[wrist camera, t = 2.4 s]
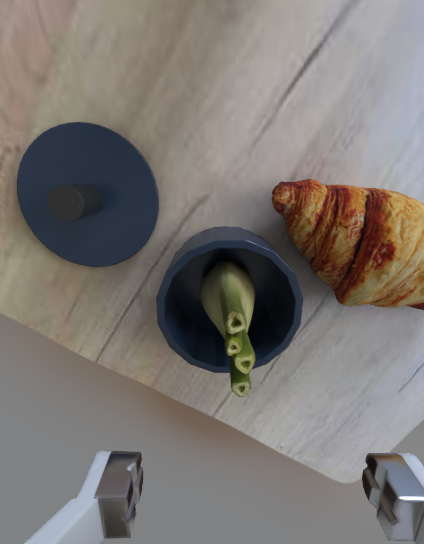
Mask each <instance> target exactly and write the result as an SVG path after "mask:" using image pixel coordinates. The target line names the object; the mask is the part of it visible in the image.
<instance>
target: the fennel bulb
mask: <svg viewBox="0 0 424 544" xmlns="http://www.w3.org/2000/svg"><path fill="white" fill-rule="evenodd" d="M200 299H201V302H202V304H203V307H204V309H205V311H206V313H207V314H208V316H209V317H210V319H211V320H212V322H213V323H214V324H215V325H216V327H217V328H218V330H219V331H220V333H221V334H222V336H223V337H224V339H225V351H226V353H227V354H228V355H229V365H230V377H231V388H232V391H233V392H234V393H235V394H236V395H238V396H239V397H245V396H246V395H247V394H248V391H249V390H250V389H251V381H250V377H249V372H250V370H251V369H252V367H253V365H254V362H255V360H256V358H255V353H254V351H253V348H252V346H251V344H250V341H249V338H248V335H247V332H248V328H249V325H250V321H251V317H252V313H253V308H254V301H255V289H254V284H253V280H252V277H251V275H250V273H249V271H248V270H247V269H245V268H244V267H242V266H238V265H237V264H236V263H235V262H233V261H229V260H226V261H220V262H218V263H217V264H216V265H215V266H214V267H213V268H212V269H211V270H210V271H209V272H208V273H207V274H206V275H205V277H204V278H203V281H202V283H201V287H200Z"/></svg>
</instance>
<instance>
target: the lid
mask: <svg viewBox="0 0 424 544" xmlns="http://www.w3.org/2000/svg"><path fill="white" fill-rule="evenodd" d="M17 193H18V200H19V204H20V208H21V211H22V213H23V216H24V218H25V220H26V222H27V224H28V226H29V227H30V229H31V230H32V232H33V233H34V235H35V236H36V237H37V238H38V239H39V240H40V241H41V242H42V243H43V244H44V245H45V246H46V247H47V248H48V249H49V250H51V251H52V252H54V253H55V254H57V255H58V256H60V257H62V258H64V259H66V260H68V261H70V262H73V263H76V264H80V265H85V266H94V267H100V266H109V265H114V264H117V263H120V262H122V261H124V260H126V259H128V258H130V257H131V256H133V255H134V254H136V253H137V252H138V251H139V250H140V249H141V248H142V247H143V246H144V245H145V244H146V242H147V241H148V240H149V238H150V236H151V235H152V233H153V230H154V228H155V226H156V222H157V219H158V212H159V195H158V189H157V184H156V181H155V178H154V175H153V173H152V171H151V169H150V167H149V165H148V163H147V161H146V160H145V159H144V157H143V156H142V154H141V153H140V152H139V151H138V150H137V149H136V147H135V146H133V145H132V144H131V143H130V142H129V141H128V140H127V139H125V138H124V137H122V136H121V135H119V134H118V133H116V132H114V131H112V130H110V129H108V128H105V127H102V126H99V125H95V124H91V123H82V122H75V123H66V124H62V125H58V126H56V127H53V128H51V129H49V130H47V131H46V132H44V133H42V134H41V135H40V136H39V137H38V138H36V139H35V140H34V141H33V143H32V144H31V145H30V146H29V148H28V149H27V151H26V152H25V154H24V156H23V158H22V161H21V163H20V167H19V171H18V178H17Z"/></svg>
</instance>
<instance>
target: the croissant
mask: <svg viewBox="0 0 424 544" xmlns="http://www.w3.org/2000/svg"><path fill="white" fill-rule="evenodd" d="M272 194H273V197H272V203H273V206H274V209H275V210H276V212H278V213H279V214H281V215H282V216H283V218H284V219H286V220H287V221H286V226H287V232H288V234H289V238H290V239H291V241H292V242H293V243H294V244H295V246H296V248H299V250H300V251H301V253H302V255H303V256H304V257H306V258H307V259H308V260H310V267H311V268H312V270H313V271H314V273H315V274H316V275H317V276H318V277H319V278H320V279H321V280H322V281H323V282H325V283H327V284H328V285H329V286H330V287H331V288H332V289H333V291H334V292H335V295H336V299H337V300H338V302H339V303H341V304H343V305H345V306H359V305H364V304H371V305H375V306H378V307H398V306H403V305H407V306H410V307H413V308H417V309H422V310H424V204H423V203H421V202H419V201H418V200H416V199H413V198H410V197H408V196H406V195H403V194H401V193H399V192H395V191H390V190H385V189H377V188H362V187H355V186H347V185H323V184H321V183H319V182H318V181H315V180H312V179H308V180H303V181H297V182H280V183H279V184H278V185H277V186H276V187H275V188H274V189H273V192H272Z"/></svg>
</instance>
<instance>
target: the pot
mask: <svg viewBox="0 0 424 544" xmlns="http://www.w3.org/2000/svg"><path fill="white" fill-rule="evenodd" d="M226 260H229V261H233V262H235V263H236V264H237V265H238V266H242V267H244V268H245V269H247V270H248V271H249V273H250V275H251V277H252V280H253V284H254V289H255V301H254V308H253V313H252V317H251V321H250V325H249V328H248V332H247V335H248V338H249V341H250V344H251V346H252V348H253V351H254V353H255V358H256V360H255V362H254V365H253V367H252V369H254V368H257V367H260V366H263V365H265V364H267V363H269V362H270V361H271V360H272V359H274V358H275V357H276V356H277V355H279V354H280V353H281V352H282V351H284V350H285V349H286V348H287V347H288V345H289V344H290V342H291V340H292V338H293V337H294V335H295V333H296V331H297V330H298V328H299V326H300V323H301V314H302V305H303V296H302V293H301V290H300V287H299V284H298V281H297V278H296V275H295V273H294V272H293V270H292V269H291V268H290V267H289V266H288V265H287V264H286V263H285V261H284V260H283V259H282V258H281V257H280V256H279V255H278V254H277V253H276V251H275V250H274V249H273V248H272V247H271V246H270V245H269V244H268V243H267V242H266V241H265V240H264V239H263V238H262V237H261V236H259V235H256V234H254V233H252V232H250V231H248V230H245V229H242V228H239V227H214V228H211V229H208V230H205V231H203V232H201V233H199V234H197V235H194V236H193V237H191V238H190V239H189V240H188V241H187V242H186V243H185V244H184V245H183V246H182V247H181V248H180V249H179V250H178V251H177V252H176V253H175V256H174V258H173V260H172V262H171V264H170V266H169V268H168V270H167V272H166V274H165V277H164V279H163V282H162V285H161V287H160V290H159V292H158V295H157V297H156V301H157V318H158V325H159V327H160V329H161V331H162V333H163V335H164V337H165V339H166V341H167V343H168V344H169V346H170V348H171V349H173V350H174V351H175V352H176V353H177V354H179V355H180V356H181V357H182V358H183V359H185V360H186V361H187V362H188V363H190V364H191V365H194V366H197V367H200V368H203V369H205V370H208V371H211V372H215V373H230V365H229V355H228V354H227V353H226V351H225V339H224V337H223V336H222V334H221V333H220V331H219V330H218V328H217V327H216V325H215V324H214V323H213V322H212V320H211V319H210V317H209V316H208V314H207V313H206V311H205V309H204V307H203V304H202V302H201V299H200V287H201V283H202V281H203V278H204V277H205V275H206V274H207V273H208V272H209V271H210V270H211V269H212V268H213V267H214V266H215V265H216V264H217V263H218V262H220V261H226Z"/></svg>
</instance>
